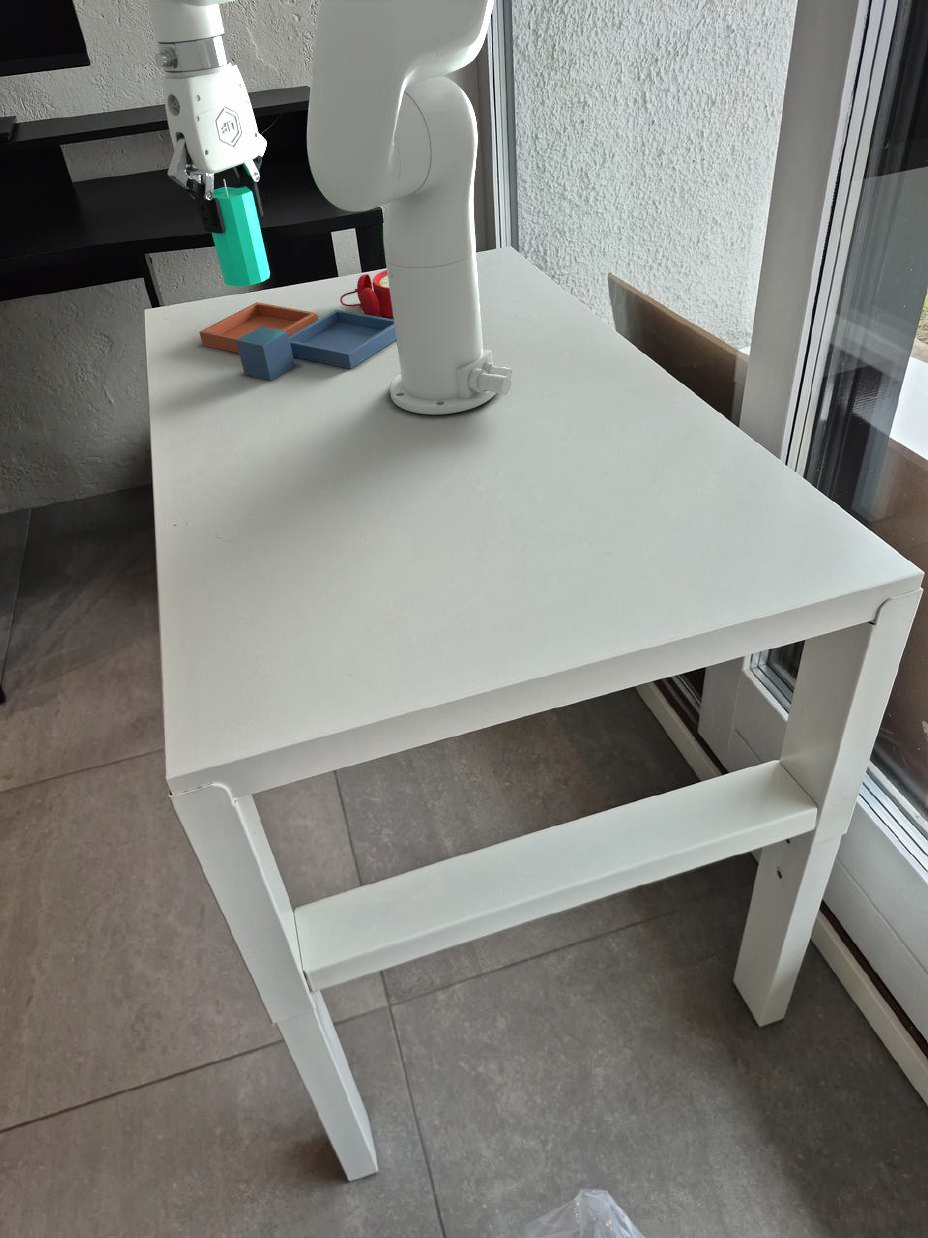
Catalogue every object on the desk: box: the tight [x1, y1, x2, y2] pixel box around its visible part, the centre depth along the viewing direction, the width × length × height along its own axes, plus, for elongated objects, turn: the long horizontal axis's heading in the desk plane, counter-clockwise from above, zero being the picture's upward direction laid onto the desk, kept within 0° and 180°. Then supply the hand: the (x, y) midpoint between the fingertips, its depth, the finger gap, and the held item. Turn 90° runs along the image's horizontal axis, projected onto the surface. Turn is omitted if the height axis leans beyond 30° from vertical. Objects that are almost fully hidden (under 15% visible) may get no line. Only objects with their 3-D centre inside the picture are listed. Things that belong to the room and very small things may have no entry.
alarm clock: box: [339, 269, 394, 319], centre depth 124 cm, size 10×6×15 cm
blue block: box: [236, 327, 296, 382], centre depth 112 cm, size 4×4×4 cm
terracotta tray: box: [198, 302, 319, 354], centre depth 122 cm, size 11×11×2 cm
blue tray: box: [289, 309, 397, 370], centre depth 117 cm, size 11×11×2 cm
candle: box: [211, 178, 271, 288], centre depth 114 cm, size 6×6×12 cm
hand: (234, 222), depth 113 cm, fingers closed on candle, 6 cm apart
